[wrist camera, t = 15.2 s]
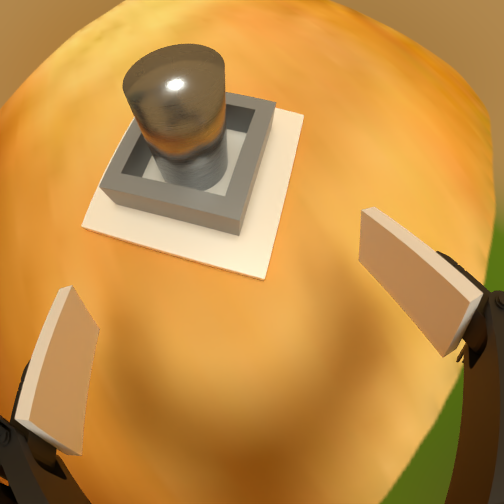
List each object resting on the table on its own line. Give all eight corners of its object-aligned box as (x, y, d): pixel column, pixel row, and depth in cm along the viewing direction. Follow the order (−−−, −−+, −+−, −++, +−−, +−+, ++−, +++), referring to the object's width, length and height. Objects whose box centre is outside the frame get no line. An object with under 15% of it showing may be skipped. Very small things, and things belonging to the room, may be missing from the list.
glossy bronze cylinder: (150, 185, 19) (104, 102, 10) (175, 131, 20) (152, 42, 11) (215, 200, 19) (202, 112, 10) (236, 143, 20) (237, 48, 11)
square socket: (86, 229, 19) (60, 212, 15) (154, 94, 22) (145, 65, 18) (263, 280, 19) (270, 271, 15) (302, 120, 22) (311, 91, 18)
